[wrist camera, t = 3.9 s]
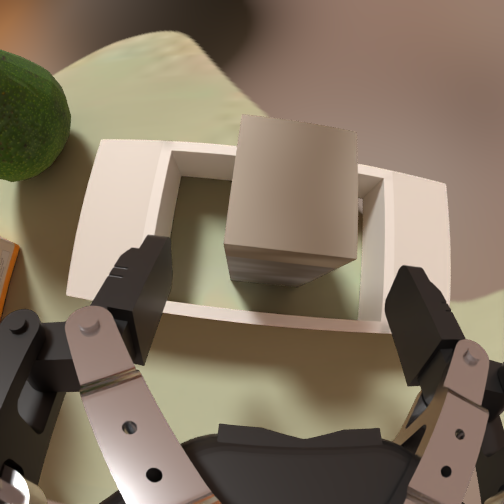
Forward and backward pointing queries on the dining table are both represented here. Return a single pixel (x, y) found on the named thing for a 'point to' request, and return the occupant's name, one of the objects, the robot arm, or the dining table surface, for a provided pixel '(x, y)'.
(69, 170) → the dining table surface
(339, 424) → the dining table surface
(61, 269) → the dining table surface
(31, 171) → the avocado
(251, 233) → the capped block
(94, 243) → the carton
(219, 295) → the dining table surface
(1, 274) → the supplement box
